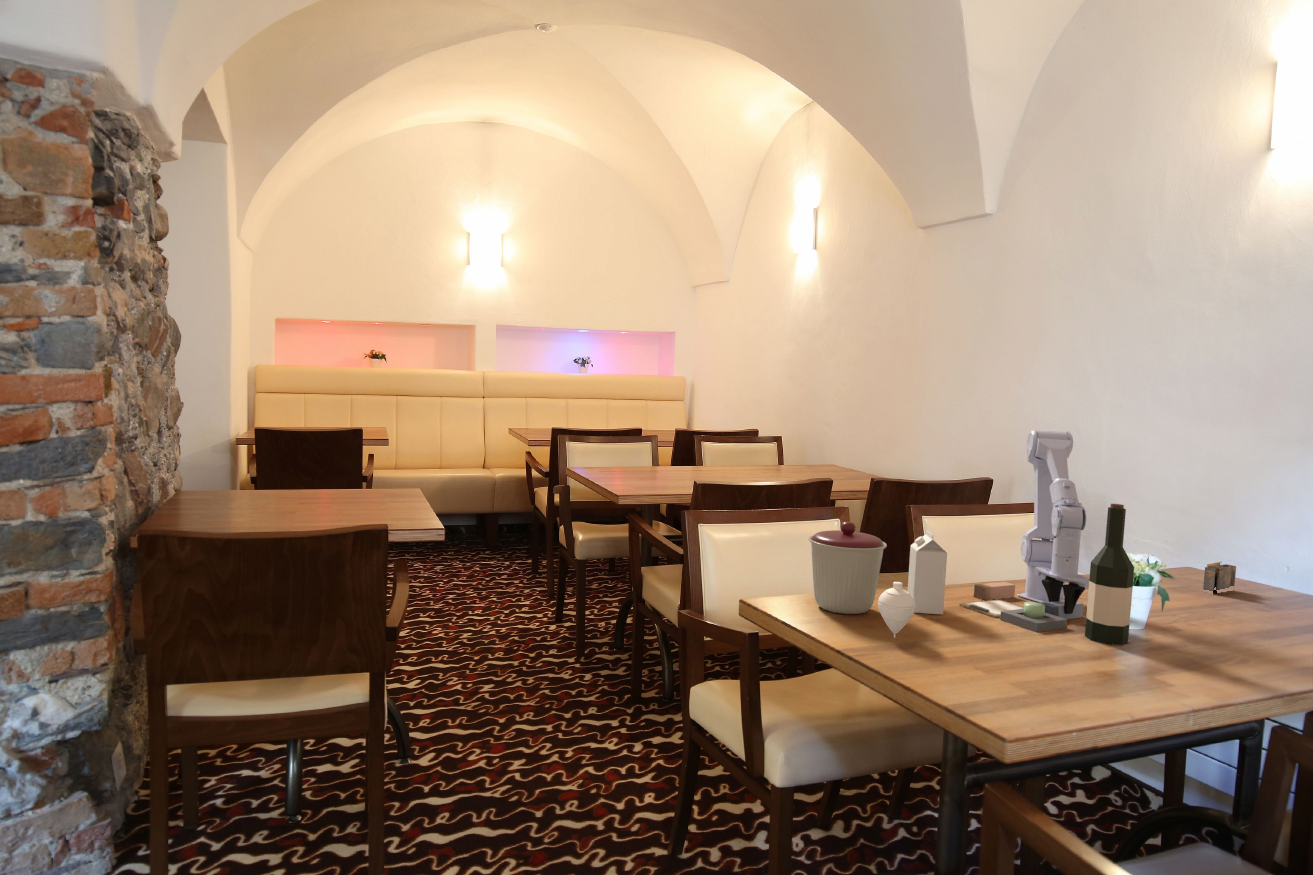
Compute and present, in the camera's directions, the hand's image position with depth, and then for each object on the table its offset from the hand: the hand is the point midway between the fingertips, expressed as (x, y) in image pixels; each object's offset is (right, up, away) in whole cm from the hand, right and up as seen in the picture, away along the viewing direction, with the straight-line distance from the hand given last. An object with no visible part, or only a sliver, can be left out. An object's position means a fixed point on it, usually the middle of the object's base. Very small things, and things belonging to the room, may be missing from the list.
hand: (1061, 611), depth 196 cm
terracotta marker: (-9, 0, +17) cm, 19 cm away
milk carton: (-33, 0, +1) cm, 33 cm away
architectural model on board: (+62, -3, +35) cm, 71 cm away
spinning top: (-47, -1, -23) cm, 52 cm away
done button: (-10, 0, -7) cm, 12 cm away
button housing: (-10, -1, -7) cm, 12 cm away
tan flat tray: (-13, -1, +5) cm, 14 cm away
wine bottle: (+1, -3, -17) cm, 17 cm away
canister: (-53, +1, -1) cm, 53 cm away
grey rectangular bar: (0, -1, 0) cm, 1 cm away
